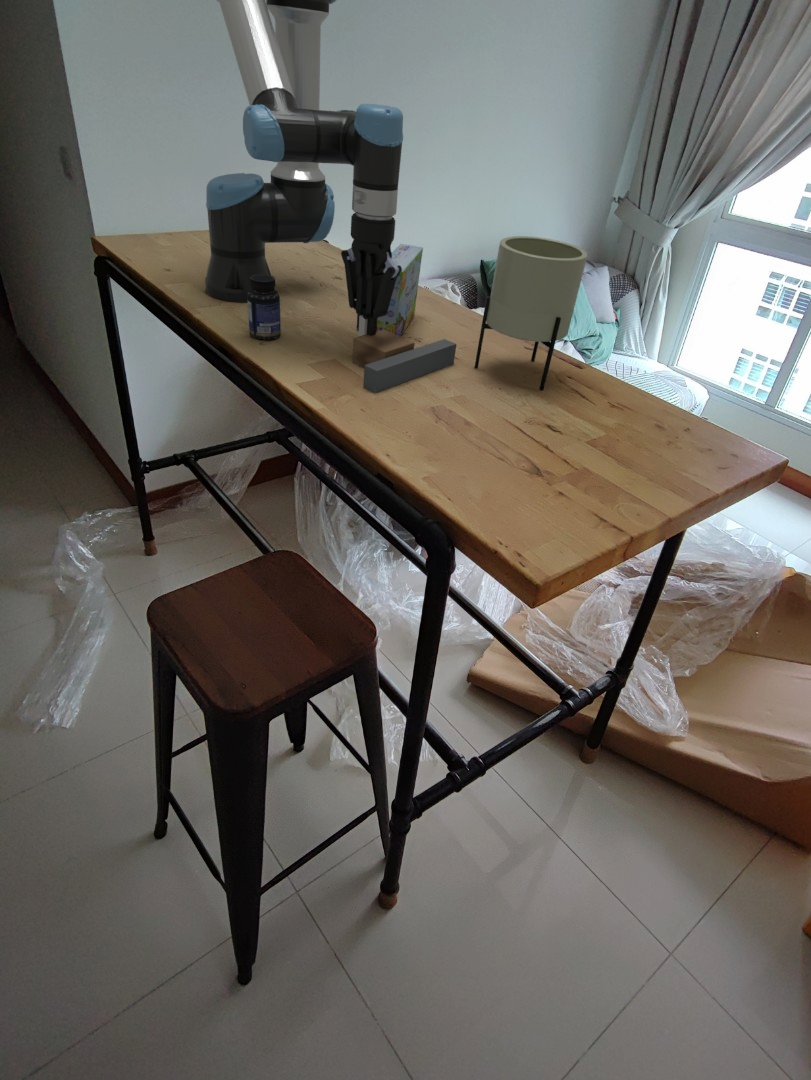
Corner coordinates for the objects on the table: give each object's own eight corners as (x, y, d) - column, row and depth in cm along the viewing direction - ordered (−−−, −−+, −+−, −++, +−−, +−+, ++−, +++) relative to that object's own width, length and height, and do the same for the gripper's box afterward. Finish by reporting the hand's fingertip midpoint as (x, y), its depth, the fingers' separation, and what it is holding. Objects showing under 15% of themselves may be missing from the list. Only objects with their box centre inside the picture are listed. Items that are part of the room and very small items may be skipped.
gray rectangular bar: (363, 386, 113) (364, 365, 111) (441, 358, 127) (444, 338, 125) (375, 392, 112) (377, 371, 109) (453, 363, 126) (456, 343, 123)
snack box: (396, 349, 129) (403, 270, 120) (369, 344, 130) (374, 266, 120) (416, 316, 146) (424, 245, 137) (392, 312, 146) (398, 241, 137)
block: (352, 364, 121) (353, 338, 118) (381, 354, 126) (383, 329, 123) (382, 378, 118) (385, 352, 114) (411, 368, 123) (414, 342, 120)
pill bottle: (286, 334, 129) (286, 277, 122) (269, 343, 125) (267, 285, 118) (261, 327, 131) (258, 271, 124) (242, 336, 126) (239, 277, 120)
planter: (508, 395, 117) (537, 262, 103) (463, 361, 127) (483, 236, 113) (573, 386, 123) (608, 259, 109) (525, 354, 134) (551, 235, 120)
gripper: (331, 208, 110) (327, 342, 124) (386, 225, 103) (376, 365, 118) (362, 204, 115) (355, 335, 129) (416, 221, 108) (403, 356, 123)
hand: (365, 349), depth 123 cm, fingers closed
